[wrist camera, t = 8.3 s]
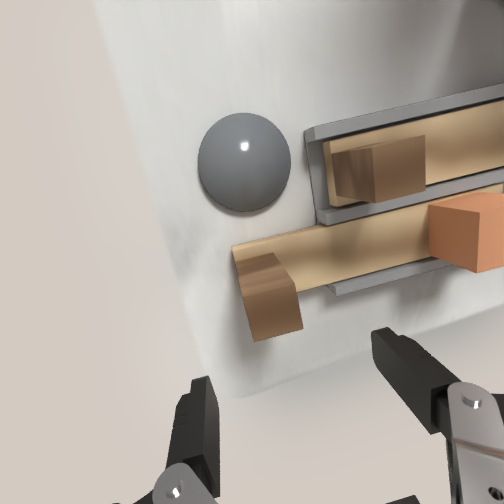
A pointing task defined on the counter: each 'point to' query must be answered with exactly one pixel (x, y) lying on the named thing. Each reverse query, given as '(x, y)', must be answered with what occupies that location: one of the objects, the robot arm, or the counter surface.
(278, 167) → the slate coaster
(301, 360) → the counter surface
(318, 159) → the lane frame
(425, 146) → the oak strip
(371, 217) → the oak strip
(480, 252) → the rust cube
